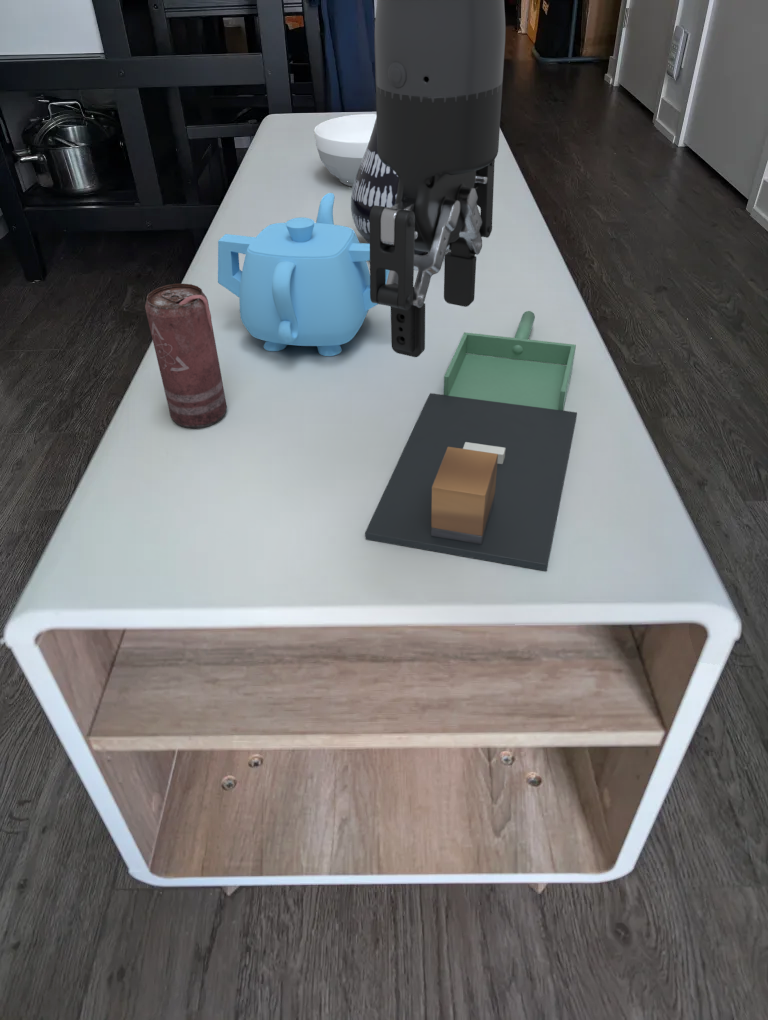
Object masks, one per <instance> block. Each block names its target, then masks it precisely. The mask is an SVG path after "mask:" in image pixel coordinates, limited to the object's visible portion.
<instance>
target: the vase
mask: <svg viewBox="0 0 768 1020" xmlns="http://www.w3.org/2000/svg"><path fill="white" fill-rule="evenodd" d="M398 182H399V178H398V175H397V174H396V173H395V171H394V170H393V169H392V168H390V167H388V166H386V165H385V164H384V163H383V162H382V161H381V160H380V158H379V156H378V149H377V117H376V121H375V124H374V128H373V131H372V134H371V137H370V140H369V143H368V145H367V148H366V151H365V153H364V156H363V159H362V161H361V164H360V166H359V169H358V172H357V174H356V177H355V180H354V184H353V187H352V189H351V195H350V211H351V212H350V213H351V217H352V221H353V224H354V226H355V228H356V231H358V234H359V235H360V236H361V237H362V238H363V240H364V241H365V242H366V243H367V244H370V212H371V209H372V207H373V206H375V205H376V206H383V207H389V208H390V207H392V206H394V205H395V201H396V196H397V190H398ZM426 253H427V252H424V251H419V250H414V254H417V255H426Z"/></svg>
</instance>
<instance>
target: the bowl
mask: <svg viewBox="0 0 768 1020" xmlns="http://www.w3.org/2000/svg"><path fill="white" fill-rule="evenodd" d="M376 117H377V115H376V113H361V114H360V113H359V114H350V115H349V114H348V115H343V116H339V117H333V118H330V119H327V120H324V121H322V122H320V123H318V124H316V126H315V127H314V130H313V133H314V134H313V135H314V136H313V137H314V140H315V142H314V143H315V146H316V149H317V152H318V156H319V159H320V161H321V162H322V164H323V165H324V167H325V168H326V169H327V170H328V172H329V173H330V174H331V175H333V176H334V177H336V178H337V179H339V182H340V183H342V184H343V185H345V186H348V187H352V188H353V184H354V180H355V177H356V174H357V172H358V169H359V166H360V164H361V161H362V159H363V156H364V153H365V151H366V148H367V145H368V143H369V140H370V137H371V134H372V131H373V128H374V124H375V121H376ZM347 181H348V182H347Z"/></svg>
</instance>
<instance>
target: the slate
mask: <svg viewBox="0 0 768 1020" xmlns="http://www.w3.org/2000/svg"><path fill="white" fill-rule="evenodd" d="M421 409H422V410H421V411H420V413H419V416H418V418H417V420H416V422H415V424H414V427H413V428H412V431H411V433H410V435H409V437H408V440H407V441H406V444H405V445H404V448H403V450H402V452H401V454H400V456H399V458H398V461H397V463H396V465H395V468H394V469H393V471H392V473H391V476H390V478H389V481H388V482H387V485H386V487H385V489H384V491H383V493H382V495H381V497H380V500H379V502H378V504H377V506H376V508H375V510H374V512H373V515H372V517H371V519H370V522H369V523H368V525H367V528H366V530H365V532H364V538H365V540H367V541H374V542H379V543H385V544H391V545H397V546H403V547H409V548H413V549H419V550H424V551H430V552H437V553H443V554H446V555H453V556H459V557H463V558H464V557H465V558H470V559H474V560H475V559H476V560H481V561H488V562H491V563H498V564H504V565H510V566H515V567H520V568H527V569H532V570H537V571H542V572H546V571H548V565H549V561H550V556H551V551H552V546H553V540H554V535H555V530H556V526H557V520H558V515H559V509H560V506H561V505H560V504H561V500H562V495H563V488H564V484H565V478H566V474H567V468H568V463H569V458H570V453H571V447H572V444H573V437H574V432H575V427H576V422H577V416H578V412H577V411H570V410H564V409H563V410H555V409H547V408H540V407H532V406H524V405H517V404H509V403H501V402H494V401H486V400H478V399H470V398H463V397H455V396H447V395H444V394H438V393H431V392H430V393H429V394H428V397H427V399H426V401H425V402H424V405H423V407H422V408H421ZM465 442H469V443H476V444H483V445H490V446H496V447H503V448H506V449H505V458H504V462H503V464H497V473H496V485H495V498H494V504H493V508H492V511H491V515H490V518H489V521H488V525H487V528H486V532H485V535H484V539H483V542H482V544H481V545H480V544H475V543H469V542H463V541H457V540H451V539H446V538H440V537H434V536H431V508H432V485H433V483H434V480H435V478H436V475H437V473H438V470H439V468H440V465H441V463H442V460H443V458H444V455H445V452H446V450H447V447H454V448H461V449H463V447H464V444H465Z"/></svg>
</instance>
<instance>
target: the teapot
mask: <svg viewBox="0 0 768 1020" xmlns="http://www.w3.org/2000/svg"><path fill="white" fill-rule="evenodd" d="M335 197H336V196H335V194H334V193H333V192H328V193H326V194H324V195H323V197H322V198H321V200H320V202H319V205H318V206H319V207H318V211H317V216H316V221H315V220H314V219H312V218H309V217H302V216H300V217H294V218H291V219H288V220H287V221H286V222H276V223H272V224H269V225H267V226H266V227H264V228H263V229H262V230H261V231H260V232H259V233H258V234H257V235H256V236H248V235H238V234H232V233H231V234H229V233H225V234H224V235H222V237H220V238H219V239H218V241H217V283H218V284H219V285H220V286H222V287H223V288H225V289H226V290H228V291H229V292H231V293H232V294H233V295H235V296H236V297H238V298H239V303H238V304H239V315H240V320H241V322H242V324H243V326H244V328H245V329H246V330H247V332H248V333H249V334H250V335H251V336H252V337H253V338H255V339H257V340H262V341H264V342H265V343H264V344H263V348H264V350H266V351H267V352H268V351H269V352H279V351H282V350H284V349H285V348H287V347H288V346H298V347H300V346H301V347H317V353H318V354H319V355H321V356H324V357H333V356H337V355H339V354H340V353H341V352H342V350H343V349H342V347H341V345H344V344H347V343H349V342H350V341H352V340H353V339H354V338H355V336H356V334H357V333H358V332H359V331H360V329H361V328H362V325H363V323H364V322H365V318H366V317H367V314H368V313H369V310H371V309H372V308H374V307H376V306H378V305H379V304H377V303H372V302H371V299H370V268H369V265H368V262H370V244H369V243H366V242H365V243H363V242H360V241H359V238H358V236H357V234H356V232H355V230H354V229H353V228H351V227H349V226H345V225H339V224H335V222H334V203H335ZM239 254H242V255H245V256H244V260H243V265H242V270H241V268H240V256H239ZM367 261H368V262H367ZM389 271H390V270H386V282H387V278H388V275H389Z"/></svg>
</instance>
